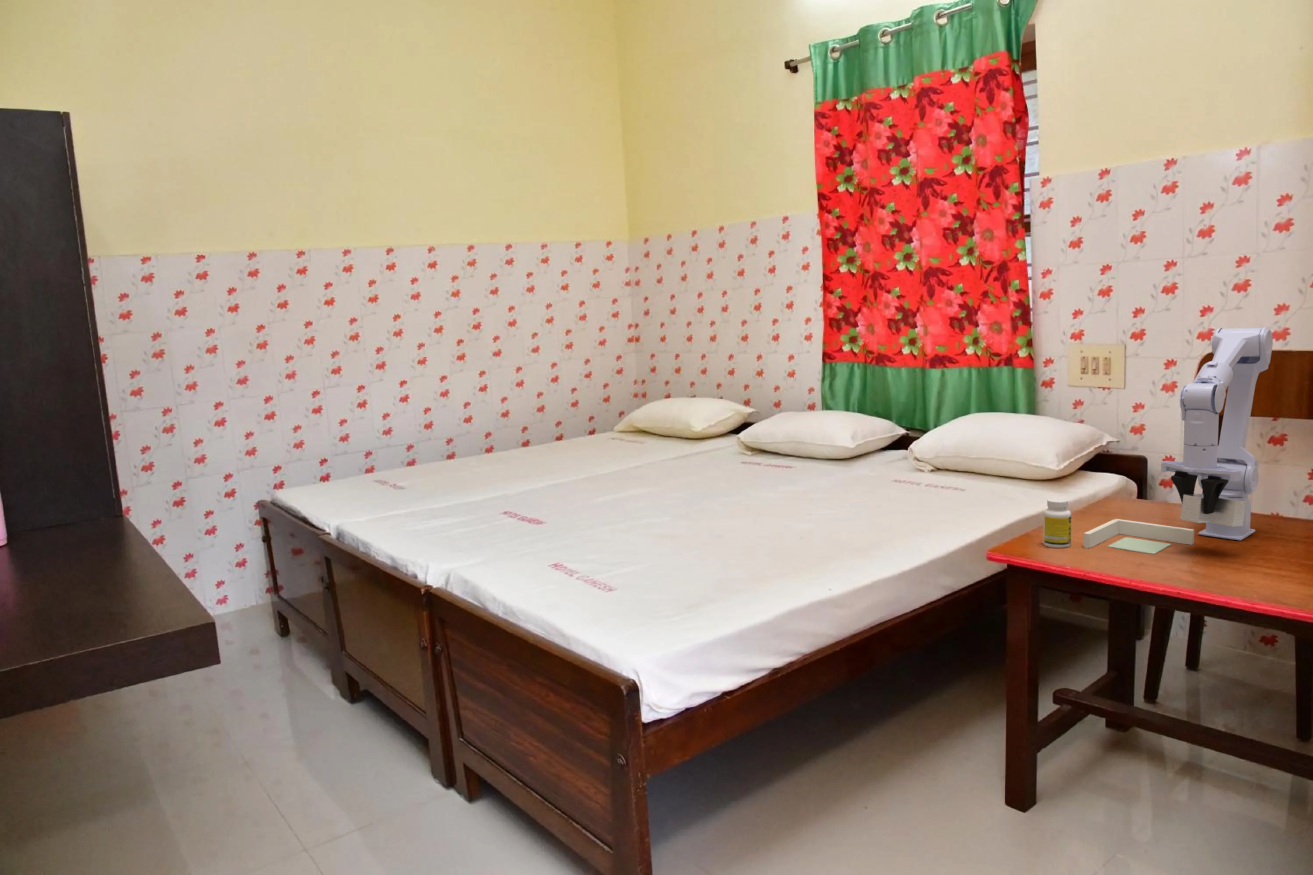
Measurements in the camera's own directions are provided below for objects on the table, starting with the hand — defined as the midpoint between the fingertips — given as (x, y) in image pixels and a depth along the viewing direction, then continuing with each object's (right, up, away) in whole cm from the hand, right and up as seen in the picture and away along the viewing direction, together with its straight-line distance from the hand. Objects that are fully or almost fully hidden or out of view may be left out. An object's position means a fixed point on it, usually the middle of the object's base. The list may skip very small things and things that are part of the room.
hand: (1198, 511), depth 174 cm
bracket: (+2, -2, -1) cm, 3 cm away
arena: (-7, -8, +8) cm, 13 cm away
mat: (-7, -8, +8) cm, 13 cm away
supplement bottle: (-22, -8, +12) cm, 27 cm away
